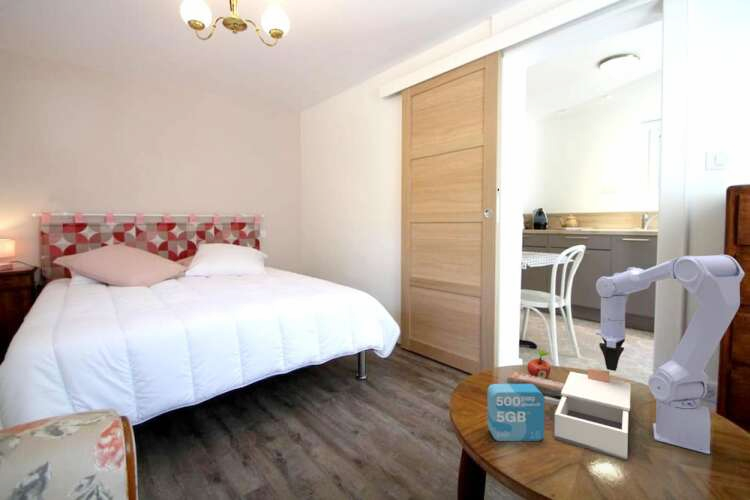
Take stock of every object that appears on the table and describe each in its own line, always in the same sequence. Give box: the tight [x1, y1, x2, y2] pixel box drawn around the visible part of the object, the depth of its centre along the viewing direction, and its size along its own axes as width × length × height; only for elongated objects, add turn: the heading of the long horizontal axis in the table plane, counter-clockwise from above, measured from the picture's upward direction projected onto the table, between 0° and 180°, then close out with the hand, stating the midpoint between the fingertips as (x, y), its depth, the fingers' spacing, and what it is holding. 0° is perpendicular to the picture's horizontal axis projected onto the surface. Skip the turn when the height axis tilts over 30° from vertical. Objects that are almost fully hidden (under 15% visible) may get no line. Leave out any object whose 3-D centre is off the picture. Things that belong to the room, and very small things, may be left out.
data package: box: [486, 383, 545, 442], centre depth 84 cm, size 12×4×12 cm, turn 88°
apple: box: [526, 349, 551, 379], centre depth 114 cm, size 8×7×10 cm
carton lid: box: [561, 367, 632, 412], centre depth 93 cm, size 15×17×3 cm
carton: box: [554, 396, 629, 461], centre depth 85 cm, size 14×16×6 cm
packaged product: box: [506, 371, 565, 406], centre depth 106 cm, size 18×5×10 cm
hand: (612, 365), depth 100 cm, fingers open, 7 cm apart
